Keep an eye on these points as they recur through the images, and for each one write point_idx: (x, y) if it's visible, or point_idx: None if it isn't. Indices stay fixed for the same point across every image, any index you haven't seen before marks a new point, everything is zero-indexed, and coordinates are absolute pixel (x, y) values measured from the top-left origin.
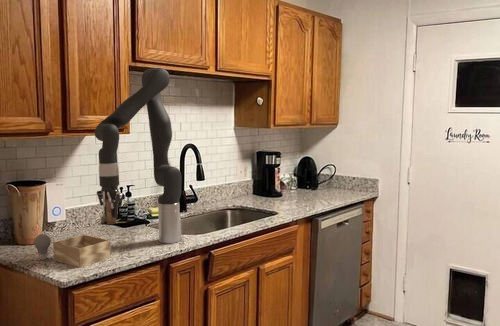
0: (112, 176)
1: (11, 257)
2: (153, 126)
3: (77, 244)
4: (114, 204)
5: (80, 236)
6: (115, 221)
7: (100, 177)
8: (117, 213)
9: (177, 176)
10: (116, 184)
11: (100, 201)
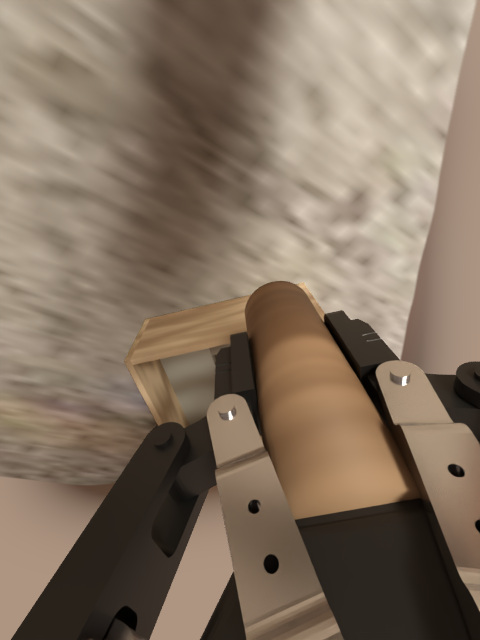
0: None
1: (88, 476)
2: None
3: (155, 369)
4: (379, 413)
5: (140, 377)
6: (308, 297)
7: None
8: (372, 330)
9: None
10: None
11: (175, 524)
